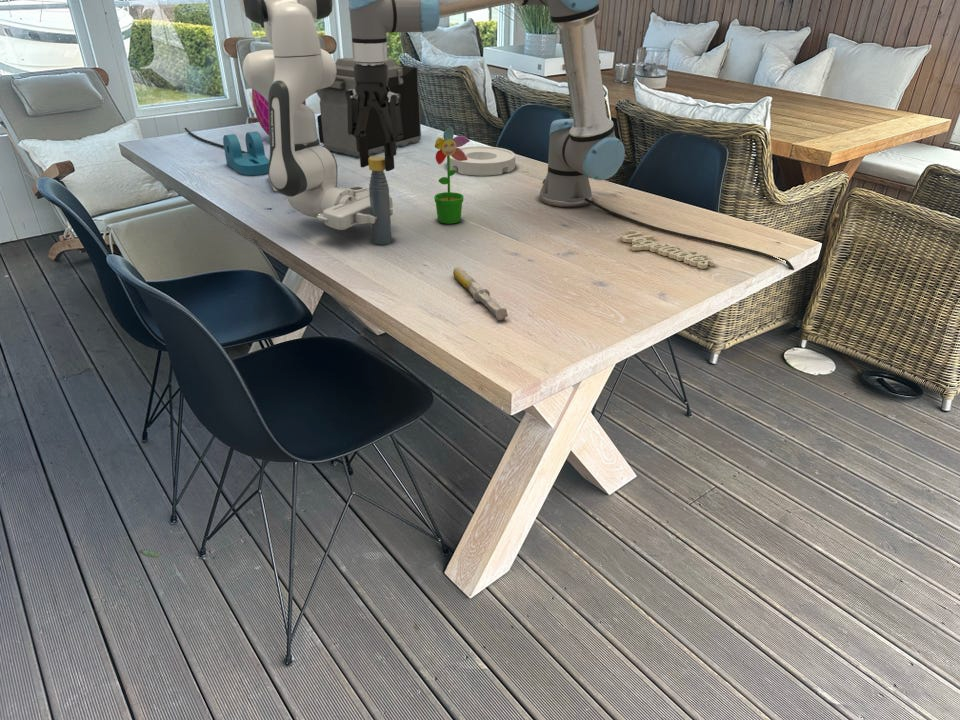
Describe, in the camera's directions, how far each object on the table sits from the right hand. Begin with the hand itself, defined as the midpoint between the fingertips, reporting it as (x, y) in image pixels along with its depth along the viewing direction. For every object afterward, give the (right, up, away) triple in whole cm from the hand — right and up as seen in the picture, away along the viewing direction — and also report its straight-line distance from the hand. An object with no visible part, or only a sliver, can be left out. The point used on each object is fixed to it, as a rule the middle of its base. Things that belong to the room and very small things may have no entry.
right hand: (377, 167), depth 163 cm
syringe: (+24, -33, -18) cm, 44 cm away
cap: (0, +2, -1) cm, 2 cm away
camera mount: (-52, +18, +66) cm, 86 cm away
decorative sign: (+69, -19, +5) cm, 72 cm away
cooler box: (-16, +35, +95) cm, 102 cm away
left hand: (+1, -10, +6) cm, 12 cm away
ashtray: (+25, +20, +71) cm, 78 cm away
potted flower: (+16, -8, +23) cm, 30 cm away
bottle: (0, -16, +9) cm, 19 cm away
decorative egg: (-51, +39, +101) cm, 120 cm away
